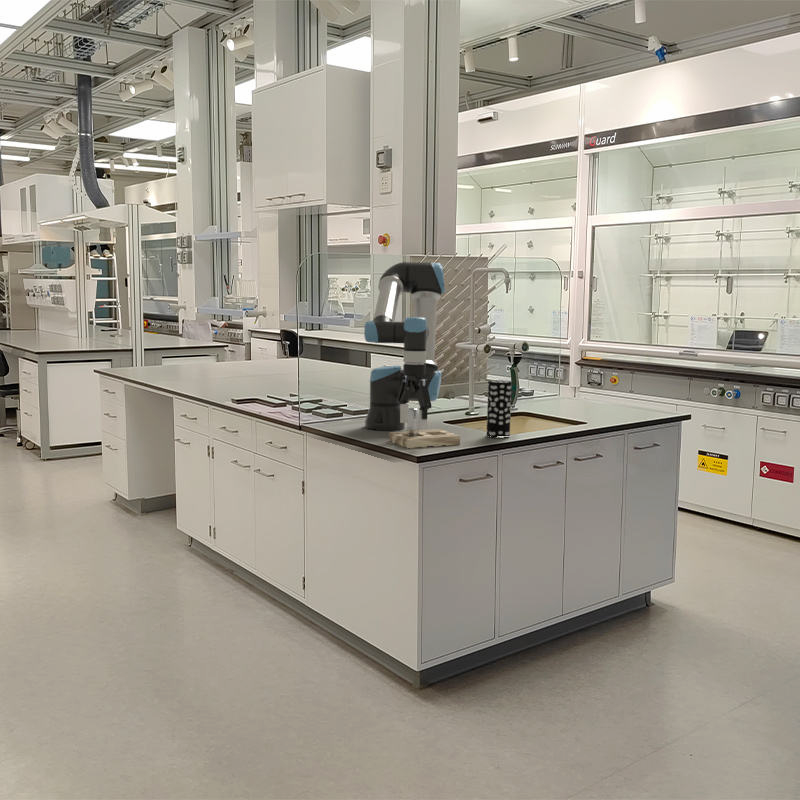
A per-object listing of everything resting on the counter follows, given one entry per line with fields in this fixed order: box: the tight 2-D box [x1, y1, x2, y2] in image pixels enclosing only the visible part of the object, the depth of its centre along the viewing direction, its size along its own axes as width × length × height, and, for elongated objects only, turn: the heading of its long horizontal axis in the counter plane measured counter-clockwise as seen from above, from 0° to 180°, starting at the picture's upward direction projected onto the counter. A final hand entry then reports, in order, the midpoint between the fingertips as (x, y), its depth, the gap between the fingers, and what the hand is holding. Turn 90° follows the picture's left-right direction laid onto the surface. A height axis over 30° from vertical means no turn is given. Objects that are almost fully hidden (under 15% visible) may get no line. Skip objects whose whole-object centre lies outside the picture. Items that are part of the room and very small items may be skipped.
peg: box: [406, 407, 420, 437], centre depth 269 cm, size 4×4×12 cm
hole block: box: [388, 428, 461, 449], centre depth 272 cm, size 14×20×3 cm
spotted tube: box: [486, 379, 513, 438], centre depth 285 cm, size 8×8×20 cm
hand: (413, 425), depth 269 cm, fingers open, 13 cm apart
